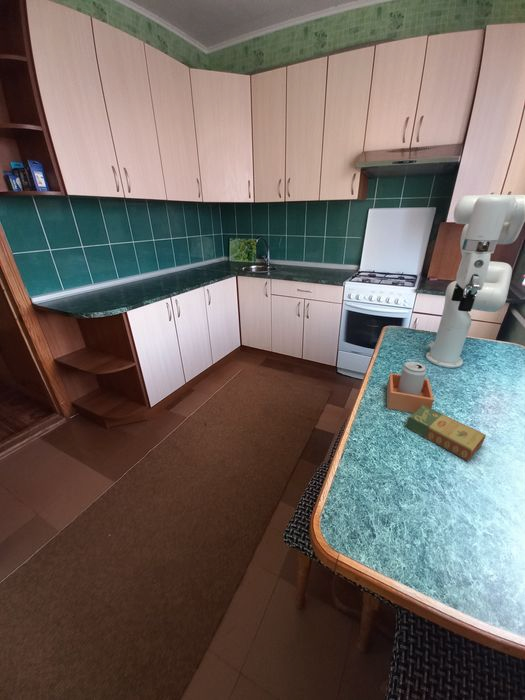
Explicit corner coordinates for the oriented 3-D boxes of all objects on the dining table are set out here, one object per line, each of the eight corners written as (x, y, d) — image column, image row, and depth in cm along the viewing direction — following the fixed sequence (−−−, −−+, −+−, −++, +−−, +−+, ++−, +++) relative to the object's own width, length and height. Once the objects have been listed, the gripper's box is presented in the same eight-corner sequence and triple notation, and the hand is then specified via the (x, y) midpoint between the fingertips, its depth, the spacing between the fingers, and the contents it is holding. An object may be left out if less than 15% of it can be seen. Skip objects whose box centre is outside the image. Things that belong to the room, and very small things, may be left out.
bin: (386, 387, 99) (389, 372, 96) (424, 394, 95) (428, 378, 93) (387, 408, 89) (390, 392, 87) (429, 416, 86) (434, 399, 83)
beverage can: (420, 405, 89) (430, 372, 83) (398, 403, 90) (406, 370, 84) (415, 393, 94) (424, 361, 89) (394, 391, 95) (401, 359, 90)
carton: (468, 462, 70) (473, 450, 69) (405, 427, 82) (408, 415, 80) (481, 446, 75) (486, 434, 73) (419, 414, 86) (423, 403, 84)
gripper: (505, 251, 72) (482, 316, 79) (485, 242, 86) (467, 298, 94) (470, 250, 74) (451, 313, 82) (456, 242, 88) (441, 296, 96)
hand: (460, 305), depth 88 cm, fingers open, 9 cm apart
